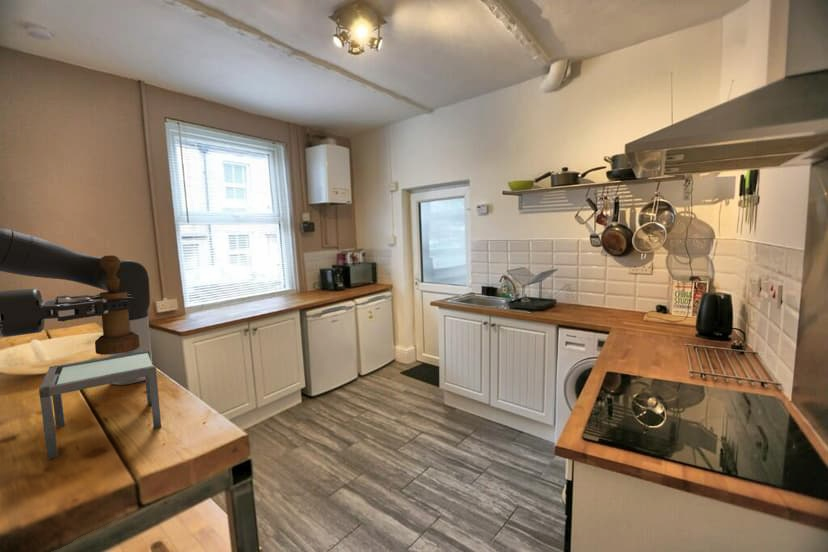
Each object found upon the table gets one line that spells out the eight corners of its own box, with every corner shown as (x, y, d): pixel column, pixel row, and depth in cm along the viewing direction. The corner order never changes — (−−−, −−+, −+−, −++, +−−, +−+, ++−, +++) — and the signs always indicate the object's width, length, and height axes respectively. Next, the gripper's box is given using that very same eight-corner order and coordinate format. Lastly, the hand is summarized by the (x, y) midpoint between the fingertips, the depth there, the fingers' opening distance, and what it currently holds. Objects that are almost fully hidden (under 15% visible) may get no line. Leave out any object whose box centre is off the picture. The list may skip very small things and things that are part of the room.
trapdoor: (63, 372, 73) (62, 367, 73) (148, 357, 82) (147, 352, 82) (57, 390, 64) (56, 385, 64) (153, 371, 73) (152, 366, 73)
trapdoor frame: (56, 426, 75) (49, 366, 73) (153, 402, 85) (149, 349, 84) (47, 459, 63) (39, 389, 62) (161, 427, 73) (155, 366, 72)
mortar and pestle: (148, 346, 71) (140, 254, 69) (113, 356, 65) (103, 256, 63) (122, 343, 72) (114, 254, 71) (86, 353, 66) (76, 256, 64)
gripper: (10, 328, 64) (132, 314, 75) (-7, 346, 53) (138, 326, 65) (4, 287, 63) (129, 279, 74) (-14, 296, 52) (134, 285, 64)
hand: (132, 301), depth 69 cm, fingers closed on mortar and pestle, 4 cm apart
